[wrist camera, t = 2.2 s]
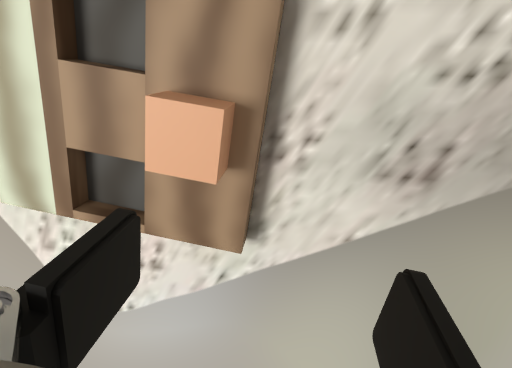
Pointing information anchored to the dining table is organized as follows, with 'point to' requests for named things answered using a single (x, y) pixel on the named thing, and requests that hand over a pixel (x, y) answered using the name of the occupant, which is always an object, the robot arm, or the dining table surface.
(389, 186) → the dining table surface
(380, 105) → the dining table surface
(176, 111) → the terracotta block
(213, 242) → the board
